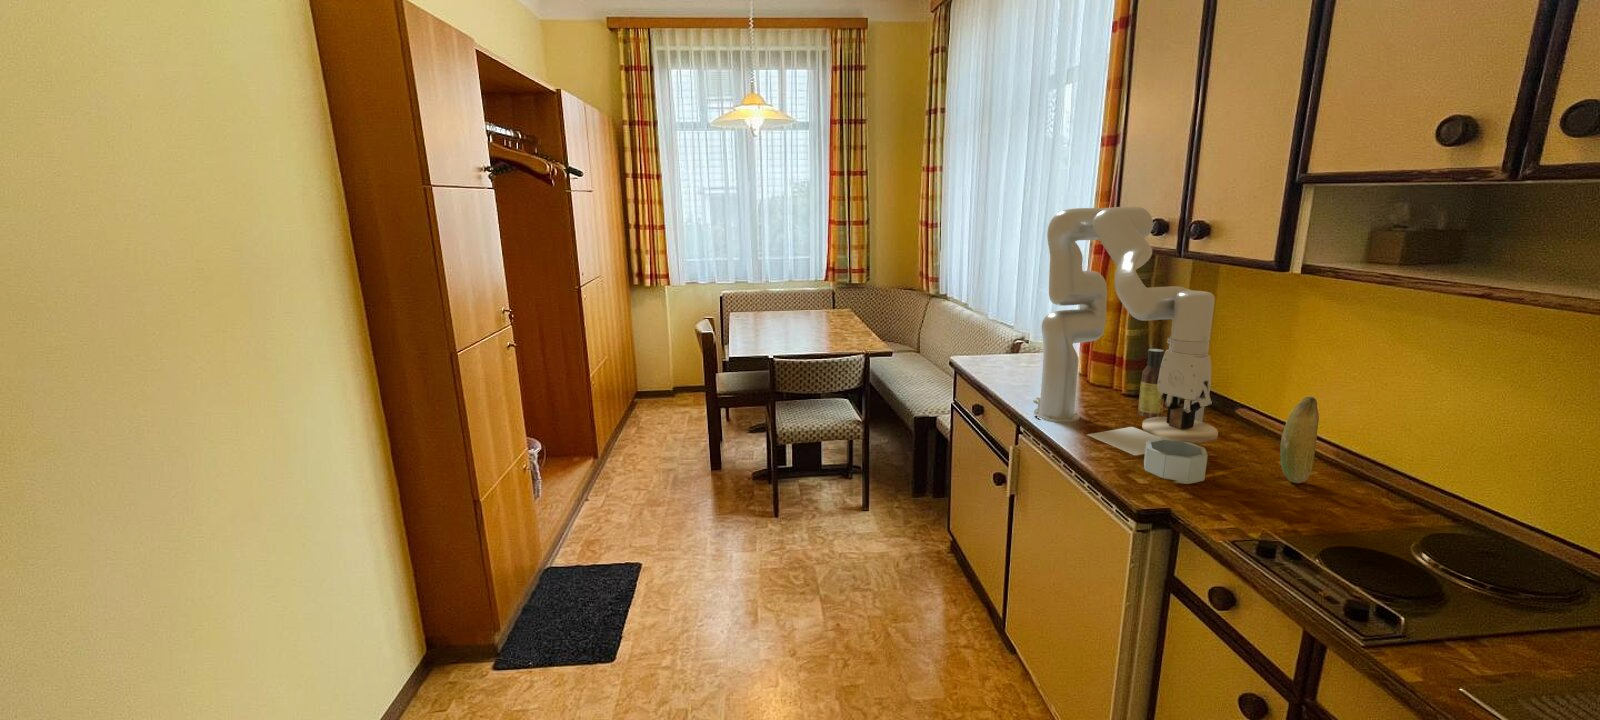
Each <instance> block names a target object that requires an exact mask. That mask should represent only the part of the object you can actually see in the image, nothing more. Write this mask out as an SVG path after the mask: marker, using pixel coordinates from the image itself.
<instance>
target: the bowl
mask: <svg viewBox="0 0 1600 720" xmlns="http://www.w3.org/2000/svg"><path fill="white" fill-rule="evenodd" d="M1208 457H1209V455H1208V452H1207V450H1206V448H1205V447H1203V446H1200V445H1197V444H1195V443H1190V442H1179V441H1173V440H1168V439H1164V438H1160V439H1155V440H1149V441H1146V448H1145V454H1144V458H1143V466H1144V471H1145V472H1148V473H1150V474H1152V475H1154V476H1157V477H1158V478H1161V479H1165V480H1172V481H1171V482H1172V483H1179V484H1185V485H1190V484H1195V483H1199V482H1203V481H1205V478H1206V470H1207V462H1208Z"/></svg>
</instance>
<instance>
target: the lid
mask: <svg viewBox="0 0 1600 720" xmlns="http://www.w3.org/2000/svg"><path fill="white" fill-rule="evenodd" d="M1183 411H1185V409H1184V407H1181V408H1176V409H1171V412H1170V420H1169V424H1168V423H1167V416H1161V417H1152V418H1148V417H1147V418H1145V419H1144V420H1143V421H1142V425H1141V426H1142V427H1141V428H1142V431H1145V432H1147V433H1149V434H1151V435H1154V436H1157V437H1160V438H1164V439H1168V440H1173V441H1179V442H1190V443H1193V444H1195V443H1198V444H1199V443H1202V444H1203V443H1209V442H1213V441H1216V440H1217V439H1218V437H1219V430H1218V429H1217V428H1216V427H1215V426H1212V425H1210V424H1209V423H1206V422H1203V421H1202V422H1199V421H1196V420H1194V425H1193V427H1192V428H1186V429H1182V428H1181V421H1182V412H1183Z"/></svg>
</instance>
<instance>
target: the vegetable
mask: <svg viewBox="0 0 1600 720" xmlns="http://www.w3.org/2000/svg"><path fill="white" fill-rule="evenodd" d="M1287 417H1288V418H1287V420H1286V423H1285V425H1284V428H1283V431H1282V434H1281V438H1280V439H1281V440H1280V445H1279V446H1280V447H1279V448H1280V450H1279V451H1280V452H1279V457H1280V458H1279V459H1280V467H1281V470H1282V473H1283V475H1284V476H1285V478H1286V479H1287V480H1288V481H1289V482H1290V483H1294V484H1303V483H1304V482H1306V481H1307V480H1308V479H1309V478H1310V475H1311V474H1312V472H1313V468H1314V462H1315V453H1316V447H1317V438H1318V429H1319V428H1318V427H1319V421H1320V419H1319V418H1320V415H1319V409H1318V400H1317V399H1316V398H1315V397H1313V396H1306V397H1304V398H1303V399H1302V400H1301V401H1300V402H1299V403H1298V404H1296V405H1295V406H1294V407H1293V408H1292V409H1291V411H1290V413H1289V415H1288V416H1287Z"/></svg>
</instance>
